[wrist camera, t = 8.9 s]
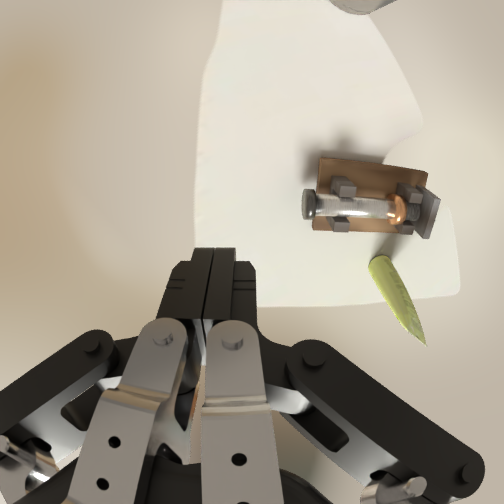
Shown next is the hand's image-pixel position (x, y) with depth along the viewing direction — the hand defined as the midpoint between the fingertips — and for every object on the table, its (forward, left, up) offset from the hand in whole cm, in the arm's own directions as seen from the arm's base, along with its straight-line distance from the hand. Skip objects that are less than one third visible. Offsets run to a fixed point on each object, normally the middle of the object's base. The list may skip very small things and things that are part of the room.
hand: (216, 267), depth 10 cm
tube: (+23, +27, -32) cm, 48 cm away
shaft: (+9, +19, -30) cm, 36 cm away
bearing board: (+9, +22, -32) cm, 40 cm away
